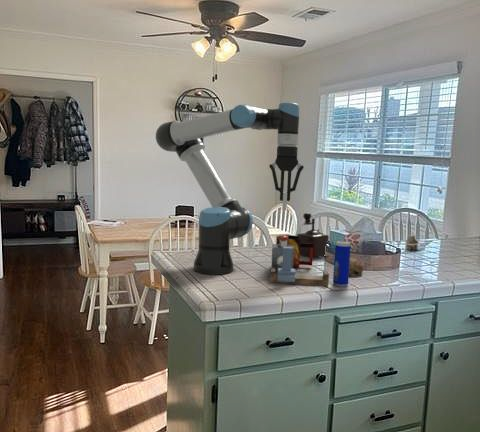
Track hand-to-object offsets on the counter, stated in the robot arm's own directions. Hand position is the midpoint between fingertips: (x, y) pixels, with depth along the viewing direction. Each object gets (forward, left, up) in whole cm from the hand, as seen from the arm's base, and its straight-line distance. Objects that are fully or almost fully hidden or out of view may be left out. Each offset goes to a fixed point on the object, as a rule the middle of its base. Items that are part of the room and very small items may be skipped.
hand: (284, 209), depth 180 cm
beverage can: (+21, -13, -24) cm, 34 cm away
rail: (+6, -13, -24) cm, 28 cm away
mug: (+4, +11, -24) cm, 27 cm away
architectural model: (+64, +61, -25) cm, 92 cm away
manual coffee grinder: (+12, +38, -24) cm, 47 cm away
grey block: (0, 0, -24) cm, 24 cm away
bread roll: (+25, +5, -24) cm, 36 cm away
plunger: (0, 0, -17) cm, 17 cm away
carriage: (+2, -13, -24) cm, 27 cm away
